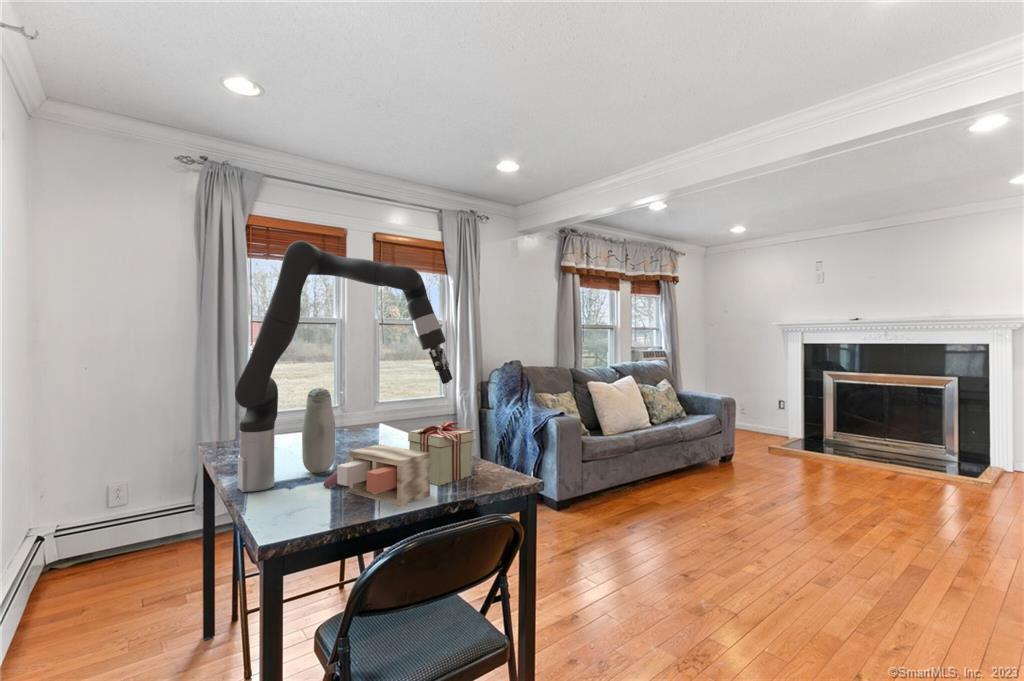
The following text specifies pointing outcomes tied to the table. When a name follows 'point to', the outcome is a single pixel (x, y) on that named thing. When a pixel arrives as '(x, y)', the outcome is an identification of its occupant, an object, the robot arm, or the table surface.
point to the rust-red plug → (382, 479)
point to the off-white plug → (352, 472)
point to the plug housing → (409, 473)
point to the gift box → (444, 451)
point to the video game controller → (331, 480)
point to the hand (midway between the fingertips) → (448, 381)
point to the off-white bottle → (318, 432)
